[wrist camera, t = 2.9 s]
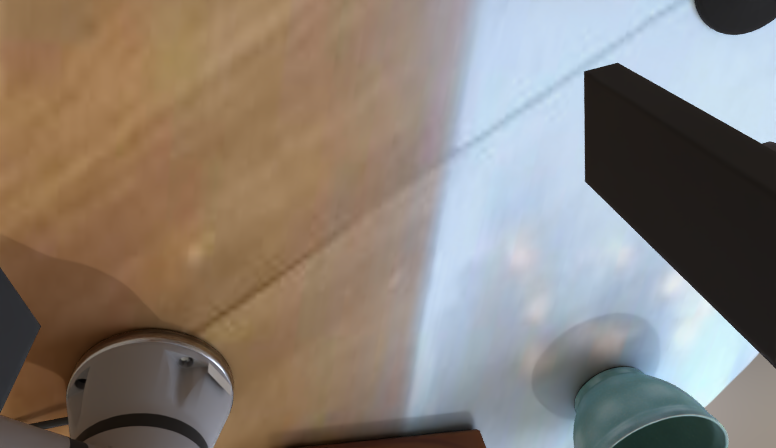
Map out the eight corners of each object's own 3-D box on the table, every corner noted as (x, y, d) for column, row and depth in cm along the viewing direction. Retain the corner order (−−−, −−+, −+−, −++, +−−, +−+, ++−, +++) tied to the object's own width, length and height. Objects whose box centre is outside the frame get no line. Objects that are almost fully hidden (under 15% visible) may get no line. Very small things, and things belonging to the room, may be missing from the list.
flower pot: (522, 404, 72) (560, 483, 63) (631, 321, 68) (689, 393, 59) (590, 453, 80) (633, 530, 70) (691, 382, 76) (751, 453, 66)
